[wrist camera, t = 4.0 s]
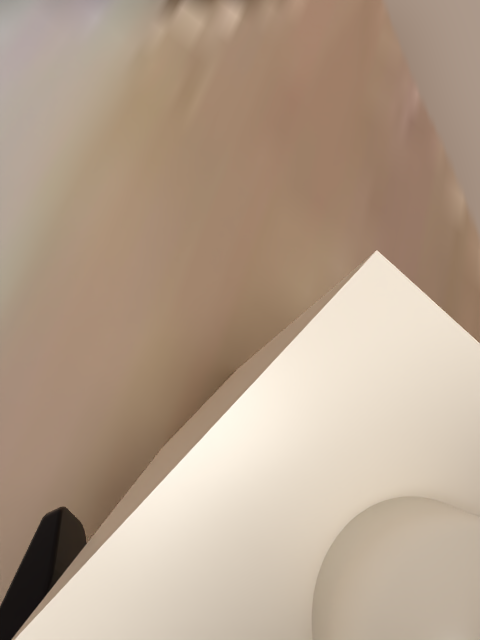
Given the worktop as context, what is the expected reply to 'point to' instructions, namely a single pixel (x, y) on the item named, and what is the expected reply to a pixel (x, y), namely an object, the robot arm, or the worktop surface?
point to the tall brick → (304, 492)
